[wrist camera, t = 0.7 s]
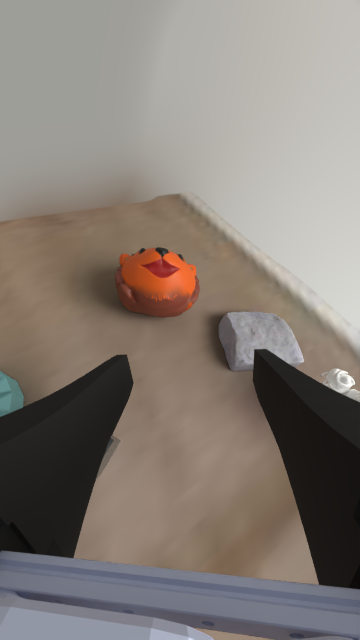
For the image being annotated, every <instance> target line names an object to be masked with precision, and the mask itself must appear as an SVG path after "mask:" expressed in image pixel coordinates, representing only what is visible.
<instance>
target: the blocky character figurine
mask: <svg viewBox="0 0 360 640" xmlns="http://www.w3.org/2000/svg"><path fill="white" fill-rule="evenodd" d="M328 372H329V373H328ZM328 372H326V373H328V375H327V377H325V376H324V374H325V373H323V374H322V375H321V377H324V378H326V380H324V382H323V385H325V386H327V387H329V388H331V389H333V390H335V391H337V392H339V393H341V394H343V395H345V396H347V397H349V398H352V399H354V400H356V401H358V402H360V391H357V390H355V389H352V390H350V387H351V386H352V383H353V384H354V385H355V382H354V380H353V378H352V377H353V376H352V377H350V376H349V375H347V374H345V373H348V372H346V371H343V370H340V369H331V370H330V371H328ZM325 381H327V383H328V384H329V385H328V384H325Z"/></svg>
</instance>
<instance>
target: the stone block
mask: <svg viewBox="0 0 360 640" xmlns="http://www.w3.org/2000/svg"><path fill="white" fill-rule="evenodd" d="M218 328H219V339H220V341H221V343H222V346H223V348H224V350H225V355H226V359H227V362H228V364H229V368H230V369H231V370H232V371H247V370H253V366H254V349H267V350H269V351H271V352H272V353H274V354H275V355H276V356H278V357H279V358H281V359H282V360H284V361H285V362H287V363H288V364H290V365H291V366H293V367H296V366H298V365H299V364H301V363H303V362H304V360H303V355H302V353H301V350H300V347H299V346H298V343H297V341H296V338H295V336H294V334H293V332H292V330H291V328H290V327H289V326H288V325H287V324H286V322H285V321H284V320H283V319H281V318H279V316H277V315H275V314H273V313H268V314H266V313H263V312H238V313H237V312H232V313H227V314H226V315H225V316H224V317H223V318H222V319H221V321H220V324H219V326H218Z"/></svg>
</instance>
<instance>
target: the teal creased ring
mask: <svg viewBox="0 0 360 640" xmlns="http://www.w3.org/2000/svg"><path fill="white" fill-rule="evenodd" d="M23 400H24V395H23V394H22V391H21V389H20V387H19V385H18V382H17V381H15V380H14V379H12V378H10V377H9V376H7V375H6V374H4V373H3V372H1V371H0V417H1V416H3V415H6V414H8V413H11V412H13V411H16V410H18V409H21V408H23Z"/></svg>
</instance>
